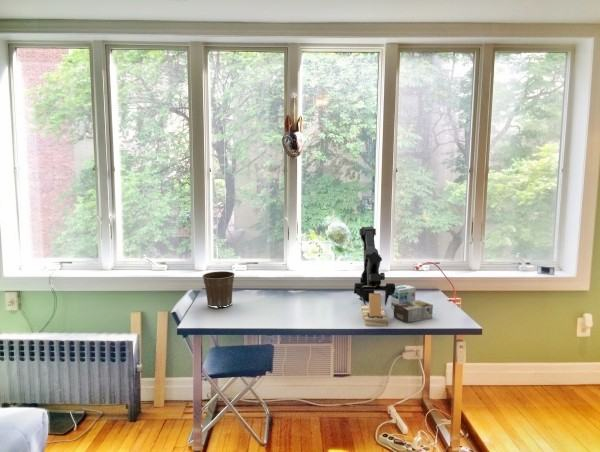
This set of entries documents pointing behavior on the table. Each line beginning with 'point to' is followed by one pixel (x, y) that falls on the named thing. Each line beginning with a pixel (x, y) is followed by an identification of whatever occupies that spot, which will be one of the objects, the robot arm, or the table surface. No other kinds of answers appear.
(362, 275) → the robot arm
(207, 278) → the plant pot
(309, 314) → the table surface
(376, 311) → the tan tall block
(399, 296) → the light bulb box
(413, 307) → the coffee box
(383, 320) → the beige flat slab
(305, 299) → the table surface
